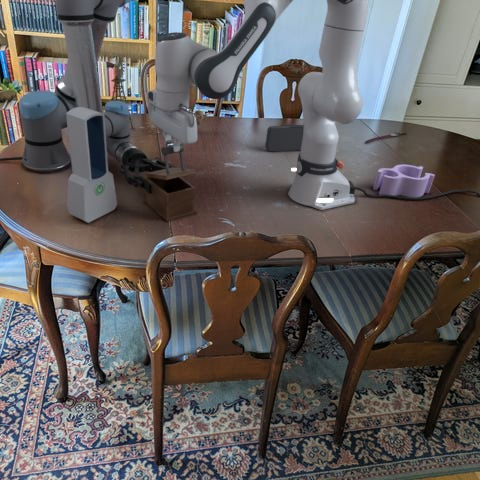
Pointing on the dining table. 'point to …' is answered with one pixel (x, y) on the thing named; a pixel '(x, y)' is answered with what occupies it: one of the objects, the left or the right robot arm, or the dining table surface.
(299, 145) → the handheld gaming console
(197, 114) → the lion figurine
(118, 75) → the miniature windmill
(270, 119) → the dining table surface
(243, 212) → the dining table surface
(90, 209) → the electronic device
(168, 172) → the lid
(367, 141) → the sword
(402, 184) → the clip
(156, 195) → the chest
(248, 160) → the dining table surface
